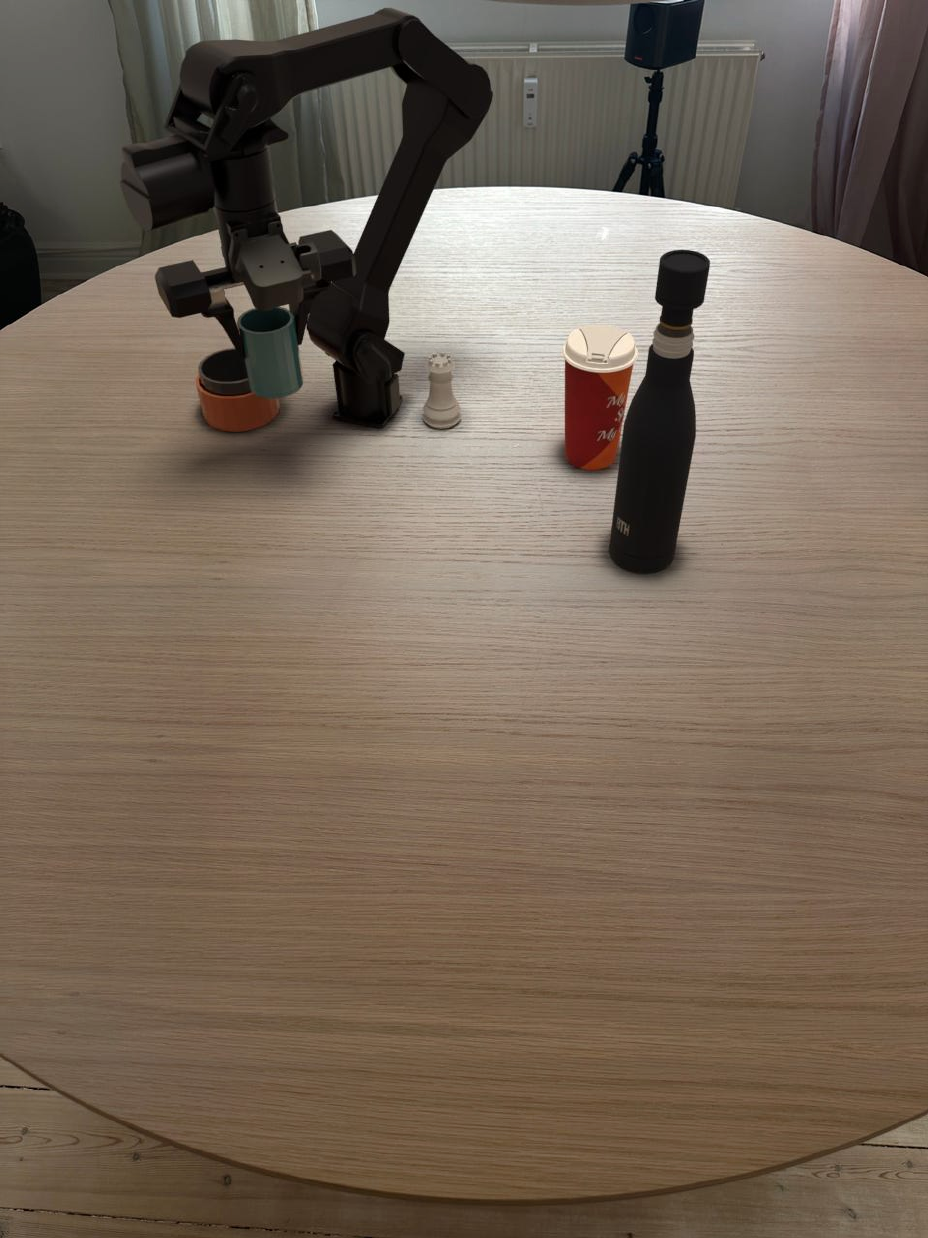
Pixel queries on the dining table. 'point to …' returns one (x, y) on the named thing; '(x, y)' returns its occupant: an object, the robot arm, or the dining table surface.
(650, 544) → the black insulated water bottle
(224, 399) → the stack base cup
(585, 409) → the paper cup
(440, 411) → the rook chess piece
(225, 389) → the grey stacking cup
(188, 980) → the dining table surface
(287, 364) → the teal cup
